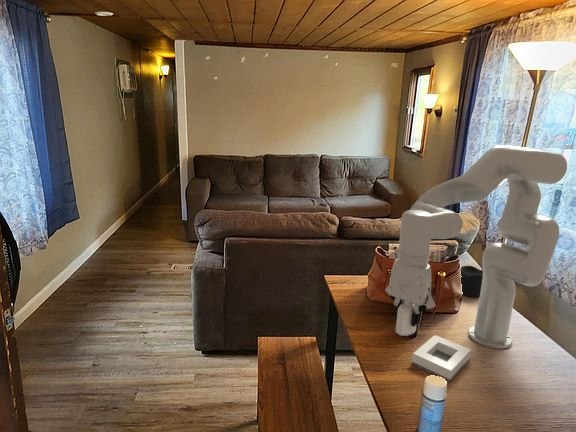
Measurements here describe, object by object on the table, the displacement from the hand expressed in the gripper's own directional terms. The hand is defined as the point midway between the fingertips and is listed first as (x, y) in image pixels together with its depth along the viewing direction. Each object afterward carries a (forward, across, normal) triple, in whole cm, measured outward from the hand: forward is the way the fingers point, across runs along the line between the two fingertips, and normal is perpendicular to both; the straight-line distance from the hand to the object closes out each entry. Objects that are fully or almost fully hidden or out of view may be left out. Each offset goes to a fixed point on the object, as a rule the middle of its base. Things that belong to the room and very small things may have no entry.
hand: (407, 320), depth 112 cm
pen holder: (+17, -5, +64) cm, 66 cm away
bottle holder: (+15, +6, +11) cm, 20 cm away
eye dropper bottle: (+4, 0, 0) cm, 4 cm away
